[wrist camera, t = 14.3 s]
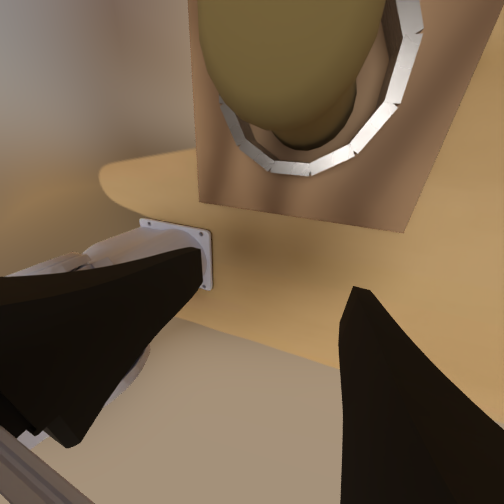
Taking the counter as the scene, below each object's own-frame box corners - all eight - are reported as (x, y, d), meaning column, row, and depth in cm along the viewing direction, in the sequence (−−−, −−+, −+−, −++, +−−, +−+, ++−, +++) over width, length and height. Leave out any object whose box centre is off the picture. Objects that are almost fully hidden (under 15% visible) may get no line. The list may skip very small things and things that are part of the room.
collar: (232, 166, 17) (219, 167, 15) (236, -19, 12) (217, -56, 10) (367, 179, 15) (374, 182, 12) (439, -55, 10) (471, -115, 8)
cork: (282, 164, 16) (219, 174, 7) (254, 80, 14) (117, -67, 5) (366, 126, 13) (460, 53, 4) (344, 17, 12) (417, -565, 2)
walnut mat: (202, 201, 20) (199, 202, 20) (188, -90, 12) (182, -101, 12) (400, 230, 16) (403, 233, 15) (589, -209, 8) (608, -234, 7)
